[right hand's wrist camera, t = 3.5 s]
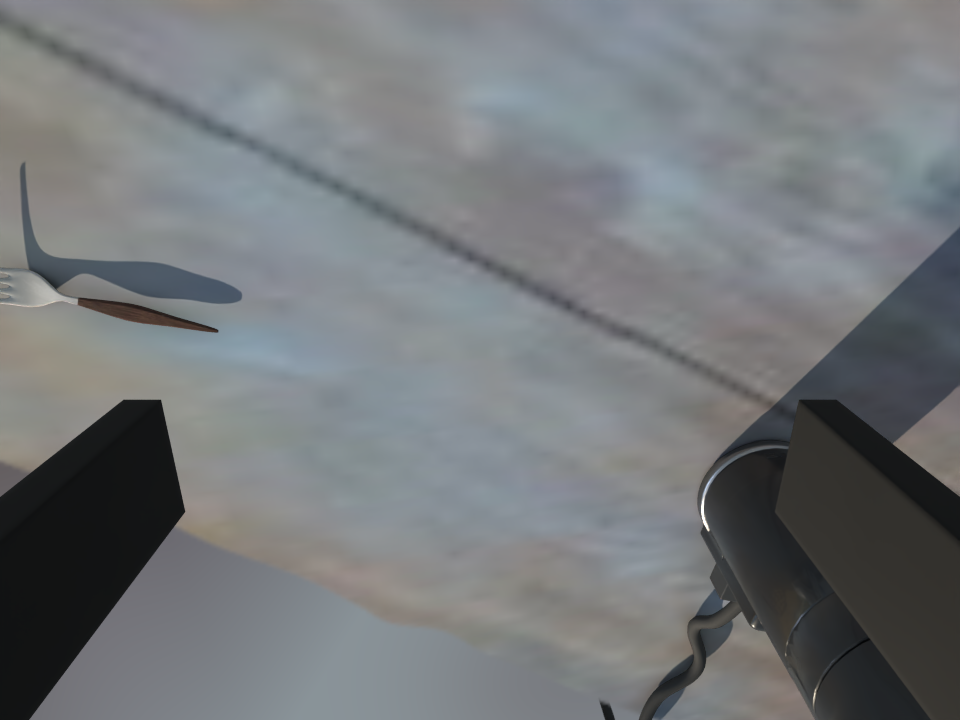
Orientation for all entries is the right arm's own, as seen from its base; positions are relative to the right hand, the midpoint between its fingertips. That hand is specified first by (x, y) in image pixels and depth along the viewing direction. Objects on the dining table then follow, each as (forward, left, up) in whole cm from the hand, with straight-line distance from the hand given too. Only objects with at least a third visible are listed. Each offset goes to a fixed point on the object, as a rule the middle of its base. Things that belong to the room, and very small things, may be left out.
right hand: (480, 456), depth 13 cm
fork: (+5, -25, -28) cm, 38 cm away
